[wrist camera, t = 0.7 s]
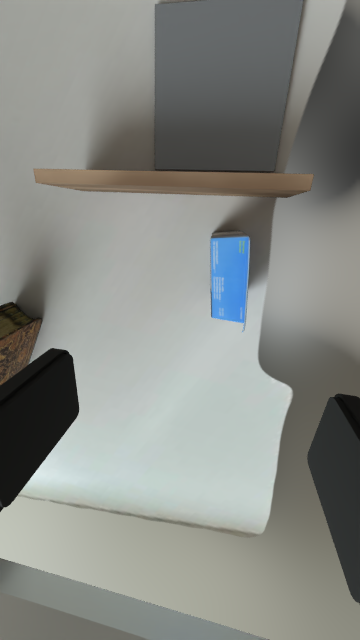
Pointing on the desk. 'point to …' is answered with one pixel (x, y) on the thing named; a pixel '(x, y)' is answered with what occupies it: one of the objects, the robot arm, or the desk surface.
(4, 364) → the book
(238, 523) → the desk surface
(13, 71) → the desk surface
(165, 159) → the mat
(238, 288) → the label tape box
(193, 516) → the desk surface
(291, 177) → the walnut screen
